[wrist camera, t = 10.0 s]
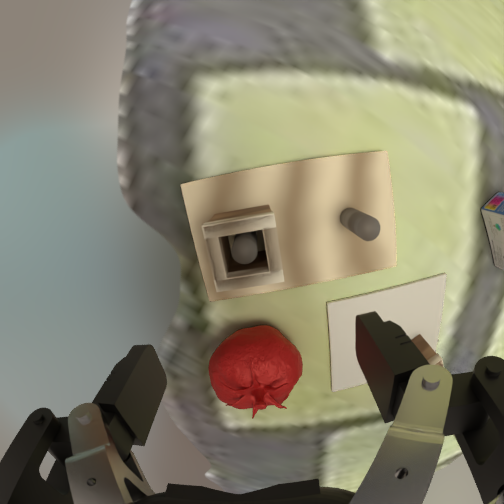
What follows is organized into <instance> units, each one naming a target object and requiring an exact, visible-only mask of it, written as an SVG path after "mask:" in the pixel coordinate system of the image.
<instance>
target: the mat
mask: <svg viewBox="0 0 504 504" xmlns="http://www.w3.org/2000/svg"><path fill="white" fill-rule="evenodd" d="M446 275H447V274H446V273H442V274H439V275H435V276H432V277H428V278H425V279H421V280H417V281H414V282H410V283H406V284H402V285H398V286H394V287H390V288H386V289H382V290H378V291H374V292H370V293H366V294H361V295H357V296H352V297H348V298H343V299H339V300H334V301H329V302H327V313H328V326H329V341H330V359H331V384H332V392H335V391H339V390H343V389H347V388H351V387H355V386H359V385H363V384H366V383H367V381H366V379H365V376H364V374H363V372H362V370H361V368H360V366H359V363H358V361H357V357H356V350H355V319H356V316H357V315H360V314H364V313H369V312H373V311H376V312H377V313H378V315H379V316H380V317H381V319H382V320H383V321H384V322H385V321H389V320H390V321H392V322H394V323H396V324H398V325H400V326H401V327H402V329H403V330H404V331H405V333H406V335H408V336H409V338H410V339H413V338H414V337H416V336H417V335H419V334H420V335H421V336H422V337H423V338H424V339H425V340H426V342H427V343H428V344H429V345H430V346H431V348H432V349H433V350H434V351H435V352H436V347H437V342H438V337H439V331H440V325H441V319H442V312H443V305H444V296H445V287H446Z"/></svg>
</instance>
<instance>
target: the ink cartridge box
mask: <svg viewBox="0 0 504 504" xmlns="http://www.w3.org/2000/svg"><path fill="white" fill-rule="evenodd" d="M481 212H482V215H483V218H484V222H485V225H486V229H487V233H488V237H489V241H490V245H491V249H492V254H493V258H494V264H495V266H496V267H498V268H500V269H502V270H504V193H503V192H498V193H497V194H496V195H494V196H493V197H492V198H491V199H490V200H489V201H488V202H487V203H486V204H485V205H484V206H483V207H482V209H481Z"/></svg>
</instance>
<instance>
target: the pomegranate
mask: <svg viewBox="0 0 504 504" xmlns="http://www.w3.org/2000/svg"><path fill="white" fill-rule="evenodd" d="M302 365H303V364H302V358H301V355H300V352H299V351H298V350H297V348H296V347H295V346H294V345H293V344H292V343H291V342H290V341H289V340H288V339H286V338H284V336H283V335H282V334H281V333H280V332H279V330H277V329H275V328H273V327H271V326H268V325H260V326H256V327H252V328H244V329H240V330H238V331H236V332H235V333H233V334H232V335H231V336H229V337H228V338H226V339H225V340H224V341H223V342H222V343H221V344H220V345H219V347H218V348H217V349H216V351H215V352H214V353H213V355H212V356H211V359H210V362H209V375H210V380H211V384H212V387H213V389H214V391H215V392H216V395H217V397H218V398H219V399H220V400H221V401H222V402H224V403H227V405H229V406H233V407H234V408H238V409H247V408H253V417H254V415H255V414H256V413H257V411H258V409H265V408H266V407H267V406H269V405H275V406H276V407H278V408H285V409H287V408H286V407H285V406H282V405H281V403H283V401H285V400H286V399H287V397H288V396H289V393H290V392H291V390H292V389H293V387H294V385H295V384H296V383H297V381H298V380H299V378H300V376H301V375H302ZM227 405H226V406H227ZM253 417H252V419H253Z"/></svg>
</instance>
